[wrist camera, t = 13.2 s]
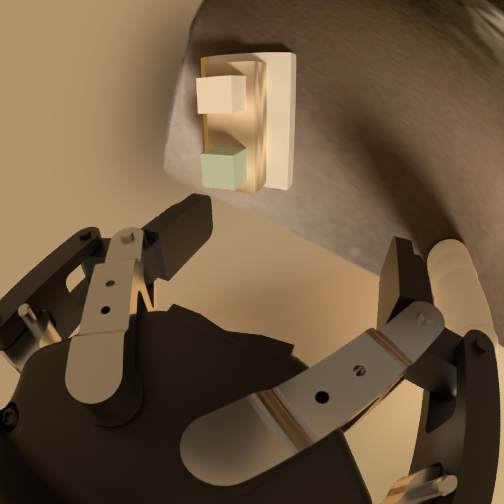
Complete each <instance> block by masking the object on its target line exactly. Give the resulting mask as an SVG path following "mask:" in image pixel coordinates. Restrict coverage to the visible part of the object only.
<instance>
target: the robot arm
mask: <svg viewBox="0 0 504 504" xmlns="http://www.w3.org/2000/svg"><path fill="white" fill-rule="evenodd" d="M212 229H213V221H212V206H211V198H210V197H209V196H208V195H202V194H196V193H193V194H191V195H190V196H188V197H187V198H186V199H185V200H183V201H181V202H180V203H177V204H175V205H172V206H171V207H170V208H168V209H167V210H165V212H163V213H161V214H160V215H159V216H158V217H156V218H154V219H153V220H152V221H150V222H149V223H148V224H146V225H145V226H144V227H142V228H141V229H139V228H135V227H132V228H126V229H123V230H120V231H118V232H117V233H116V234H114V236H113V237H112V238H101V234H100V231H99V229H98V228H96V227H88V228H85V229H82V230H80V231H78V232H77V233H75V234H74V235H73V236H72V237H70V238H69V239H68V240H67V241H65V242H64V243H63V244H62V245H60V246H59V247H58V248H57V249H56V250H54V251H53V252H52V253H51V254H49V255H48V256H47V257H46V258H45V259H44V260H42V262H40V263H39V264H38V265H37V266H36V267H35V268H33V269H32V270H31V271H30V272H29V273H28V274H27V275H26V276H24V277H23V279H21V280H20V281H19V282H18V283H17V284H16V285H15V286H14V287H13V288H12V289H11V290H10V291H9V292H8V293H7V294H6V295H5V296H4V297H3V298H2V299H1V300H0V354H1V355H2V356H3V357H4V358H5V359H6V360H7V362H8V363H9V364H10V365H11V366H13V367H14V368H15V369H16V370H17V371H18V372H19V373H20V374H21V375H20V379H19V382H18V384H17V387H16V389H15V392H14V394H13V396H12V398H11V400H10V402H9V403H8V405H7V406H6V407H5V408H3V409H2V410H0V504H372V500H371V496H370V494H369V492H368V489H367V487H366V485H365V482H364V480H363V478H362V476H361V473H360V471H359V469H358V466H357V464H356V461H355V459H354V457H353V455H352V453H351V450H350V448H349V445H348V443H347V441H346V439H345V436H344V433H345V432H347V431H348V430H349V429H351V428H352V427H353V426H354V425H356V424H357V423H358V422H359V421H360V420H362V419H363V418H364V417H365V416H366V415H367V414H368V413H369V412H370V411H371V410H373V409H374V408H375V407H376V406H377V405H378V404H379V403H380V402H381V401H383V400H384V399H385V398H386V397H387V396H388V395H389V394H390V393H391V392H392V391H393V390H394V389H395V388H397V387H398V385H400V384H401V382H403V381H404V379H406V380H408V381H410V382H412V383H414V384H416V385H417V386H419V387H421V388H423V389H424V391H423V400H422V409H421V416H420V422H419V428H418V434H417V440H416V445H415V450H414V455H413V459H412V463H411V467H410V471H409V475H408V476H405V477H403V478H401V479H399V480H398V481H397V482H396V483H395V484H394V485H393V486H392V487H391V489H390V491H389V492H388V494H387V496H386V498H385V499H384V501H383V502H382V503H381V504H491V502H492V497H493V492H494V487H495V481H496V473H497V466H498V457H499V445H500V392H499V379H498V369H497V361H496V354H495V348H494V345H493V343H492V341H491V339H490V338H489V337H488V336H487V335H486V334H485V333H483V332H482V331H480V330H476V329H472V330H469V331H468V332H467V333H466V334H465V336H464V337H462V336H460V335H458V334H456V333H454V332H453V331H451V330H449V329H447V328H446V327H445V320H444V317H443V315H442V313H441V312H440V310H439V309H438V308H437V307H435V306H434V305H433V299H432V293H431V287H430V282H429V276H428V271H427V266H426V263H425V262H424V260H423V259H422V258H421V256H420V255H416V254H414V252H413V247H412V242H411V240H407V239H404V238H400V237H396V236H394V237H393V239H392V242H391V245H390V248H389V251H388V254H387V257H386V259H385V262H384V265H383V268H382V271H381V276H380V282H379V303H378V317H377V329H376V330H375V329H374V328H370V329H368V330H366V331H365V332H363V333H362V334H361V335H360V336H358V337H357V338H355V339H354V340H352V341H351V342H349V343H348V344H346V345H345V346H343V347H342V348H340V349H339V350H338V351H336V352H334V353H333V354H331V355H330V356H328V357H326V358H325V359H323V360H322V361H320V362H318V363H317V364H315V365H314V366H312V367H310V368H309V367H308V366H307V365H306V364H305V363H304V362H302V361H301V360H299V359H298V358H297V357H295V356H293V355H292V354H293V350H294V345H293V344H289V343H286V342H283V341H279V340H276V339H273V338H270V337H266V336H263V335H257V334H247V333H238V332H230V331H226V330H223V329H222V328H220V327H219V326H217V325H216V324H214V323H212V322H211V321H210V320H208V319H207V318H205V317H204V316H202V315H201V314H199V313H196V312H194V311H191V310H188V309H186V308H183V307H181V306H178V305H176V304H173V305H172V306H171V307H170V308H169V310H168V311H157V299H156V296H157V295H156V294H157V293H156V282H155V280H156V279H157V278H161V279H163V280H166V281H169V280H170V279H171V278H172V277H173V276H174V275H175V274H176V273H177V272H178V270H180V268H181V267H182V266H183V265H184V264H185V263H186V262H187V261H188V260H189V259H190V258H191V257H192V256H193V255H194V254H195V253H196V252H197V251H198V250H199V249H200V247H202V245H203V244H204V243H205V242H206V241H207V240H208V239H209V238H210V236H211V234H212ZM80 264H81V266H82V269H83V271H84V274H85V276H86V277H85V278H84V279H83V280H82V281H81V282H80V283H79V284H78V285H77V286H76V287H75V288H74V289H73V290H72V291H71V292H70V293H69V291H68V289H67V286H66V279H67V277H68V275H69V274H70V273H71V272H72V271H73V270H75V269H76V268H77V267H78V266H79V265H80ZM80 323H81V324H80ZM79 324H80V330H79V332H78V334H77V335H74V336H73V337H71V338H68V337H69V336H70V335H71V334H72V333H73V331H74V330H75V329H76V328H77V327H78V325H79ZM67 338H68V339H67Z"/></svg>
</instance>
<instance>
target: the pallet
mask: <svg viewBox="0 0 504 504" xmlns="http://www.w3.org/2000/svg"><path fill="white" fill-rule="evenodd" d="M229 75H235V76H246V110H244V111H239V112H235V113H207V125H208V142H209V149H212V148H214V147H234V148H247V181H246V182H245V183H243V184H242V185H241V186H240V187H239V188H237V189H236V190H235V191H236V192H243V193H250V194H256V193H257V192H258V191H259V190H260V189H261V188H262V187H263V186H264V185H265V184H266V152H267V63H262V62H257V61H241V62H227V63H216V64H207V65H205V77H215V76H229ZM214 189H216V188H214ZM221 190H224V189H221ZM229 191H232V190H229Z"/></svg>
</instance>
